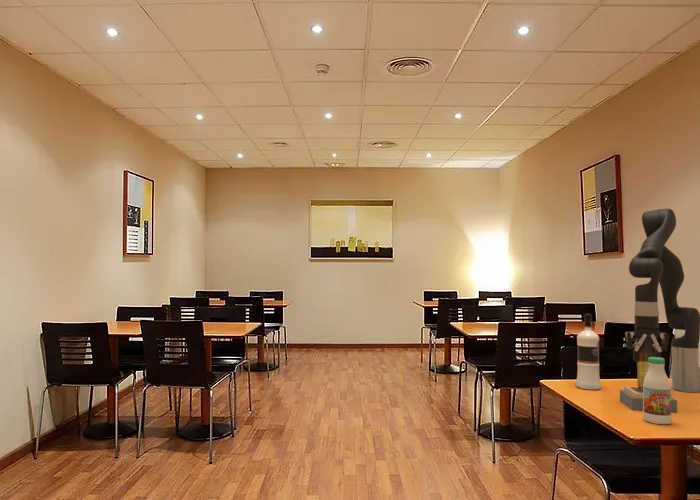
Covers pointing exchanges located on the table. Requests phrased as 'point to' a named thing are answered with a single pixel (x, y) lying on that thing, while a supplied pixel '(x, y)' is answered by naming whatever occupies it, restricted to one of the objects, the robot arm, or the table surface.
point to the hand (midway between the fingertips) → (646, 361)
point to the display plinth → (638, 399)
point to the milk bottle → (656, 393)
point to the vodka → (588, 358)
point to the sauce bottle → (644, 360)
